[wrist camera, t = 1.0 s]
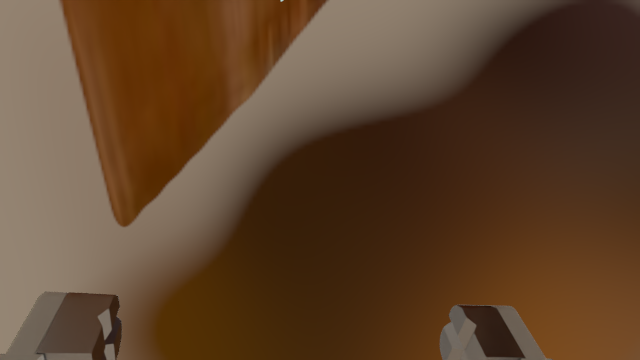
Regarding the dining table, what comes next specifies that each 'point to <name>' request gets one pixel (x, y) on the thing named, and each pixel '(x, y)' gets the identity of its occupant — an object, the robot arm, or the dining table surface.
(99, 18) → the dining table surface
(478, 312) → the robot arm
